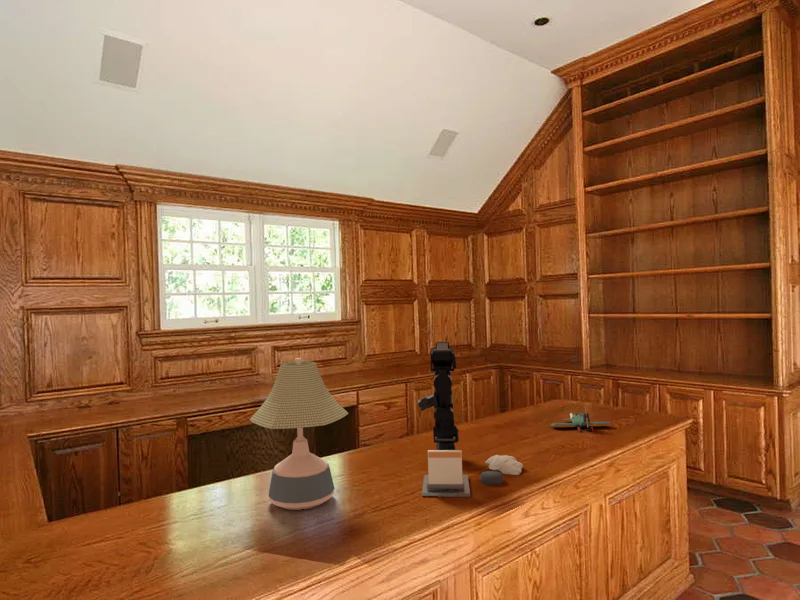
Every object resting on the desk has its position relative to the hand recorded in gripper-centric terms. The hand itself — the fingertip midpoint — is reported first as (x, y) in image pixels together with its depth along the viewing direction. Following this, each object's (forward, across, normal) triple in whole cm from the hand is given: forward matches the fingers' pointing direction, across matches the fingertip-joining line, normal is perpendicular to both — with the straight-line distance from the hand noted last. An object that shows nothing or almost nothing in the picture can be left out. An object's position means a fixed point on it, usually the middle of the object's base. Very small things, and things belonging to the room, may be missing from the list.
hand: (444, 435), depth 165 cm
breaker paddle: (+11, +16, 0) cm, 19 cm away
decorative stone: (+14, -6, +20) cm, 25 cm away
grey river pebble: (+13, +6, +14) cm, 21 cm away
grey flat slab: (+13, +11, 0) cm, 17 cm away
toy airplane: (+14, -63, +59) cm, 87 cm away
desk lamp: (+13, +23, -42) cm, 49 cm away
